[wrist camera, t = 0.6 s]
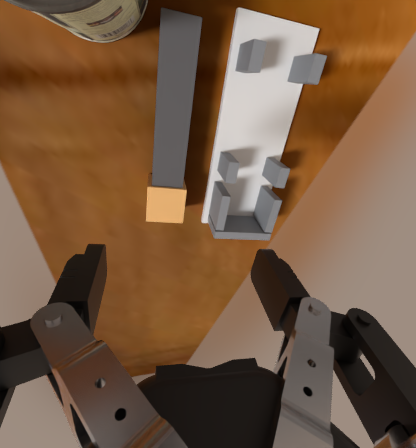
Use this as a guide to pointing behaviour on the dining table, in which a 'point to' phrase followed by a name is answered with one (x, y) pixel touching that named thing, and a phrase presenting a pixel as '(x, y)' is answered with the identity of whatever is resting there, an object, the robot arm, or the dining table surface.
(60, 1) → the coffee can
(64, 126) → the dining table surface
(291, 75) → the white grey holder tray
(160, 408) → the robot arm
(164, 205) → the grey orange bar
